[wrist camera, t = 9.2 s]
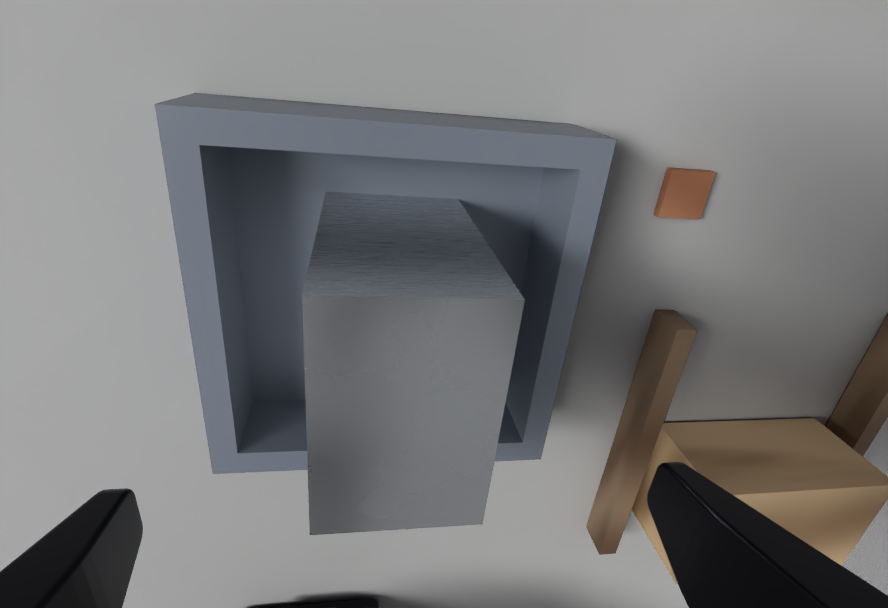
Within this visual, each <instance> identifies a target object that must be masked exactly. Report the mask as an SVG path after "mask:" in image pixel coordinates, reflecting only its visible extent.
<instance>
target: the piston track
mask: <svg viewBox="0 0 888 608" xmlns="http://www.w3.org/2000/svg"><path fill="white" fill-rule="evenodd" d="M715 174H716V172H713V171H711V170H696V169H682V168H667V170H666V174H665V177H664V181H663V184H662V188H661V191H660V195H659V198H658V202H657V205H656V208H655V212H654V215H655V216H657V217H665V218H686V219H701V216H702V213H703V210H704V207H705V204H706V201H707V198H708V195H709V192H710V189H711V186H712V183H713V180H714V177H715ZM696 333H697V329H696V328H695V327H694V326H692V325H691V324H690V323H689V322H688V321H686V320H685V319H684V318H683V317H682V316H680V315H679V314H678V313H677V312H676V311H674V310H655V312H654V315H653V319H652V322H651V325H650V328H649V331H648V334H647V338H646V341H645V344H644V347H643V350H642V353H641V356H640V360H639V363H638V366H637V369H636V372H635V375H634V379H633V382H632V385H631V388H630V391H629V394H628V397H627V401H626V404H625V407H624V410H623V413H622V416H621V420H620V423H619V426H618V429H617V432H616V435H615V438H614V442H613V445H612V448H611V451H610V454H609V457H608V460H607V464H606V467H605V470H604V473H603V476H602V479H601V483H600V486H599V489H598V492H597V495H596V498H595V501H594V505H593V508H592V511H591V514H590V517H589V520H588V524H587V529H588V532H589V534H590V536H591V538H592V540H593V542H594V544H595V546H596V548H597V550H598V553H599V555H600V554H612V553H616V550H617V548H618V545H619V542H620V539H621V537H622V534H623V531H624V529H625V526H626V523H627V520H628V518H629V515H630V512H631V509H632V507H633V504H634V501H635V499H636V496H637V493H638V490H639V488H640V485H641V482H642V480H643V477H644V474H645V471H646V469H647V466H648V463H649V460H650V458H651V455H652V452H653V450H654V447H655V444H656V441H657V439H658V436H659V433H660V431H661V428H662V425H663V422H664V420H665V417H666V414H667V411H668V409H669V406H670V403H671V401H672V398H673V395H674V392H675V390H676V387H677V384H678V382H679V379H680V376H681V373H682V371H683V368H684V365H685V363H686V360H687V357H688V354H689V352H690V349H691V346H692V343H693V341H694V338H695V335H696ZM887 417H888V315H887V316H886V318H885V320H884V322H883V324H882V325H881V327H880V329H879V331H878V333H877V334H876V336H875V338H874V340H873V342H872V343H871V345H870V347H869V349H868V351H867V352H866V354H865V356H864V358H863V360H862V361H861V363H860V365H859V367H858V369H857V370H856V372H855V374H854V376H853V378H852V380H851V381H850V383H849V385H848V387H847V389H846V390H845V392H844V394H843V396H842V398H841V399H840V401H839V403H838V405H837V407H836V408H835V410H834V412H833V414H832V416H831V417H830V419H829V421H828V423H827V425H826V426H825V427H826V428H828V429H829V430H830V431H831V432H832V433H834V434H835V435H836V436H837V437H839V438H840V439H841V440H842V441H844V442H845V443H846V444H847V445H848V446H850V447H851V448H852V449H853V450H855V451H856V452H857V453H858V454H860V455H861V456H862V457H863V455H864V454H865V452H866V451H867V449H868V447H869V446H870V444H871V442H872V441H873V439H874V438H875V436H876V434H877V433H878V431H879V430H880V428H881V426H882V425H883V423H884V421H885V420H886V418H887Z"/></svg>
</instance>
